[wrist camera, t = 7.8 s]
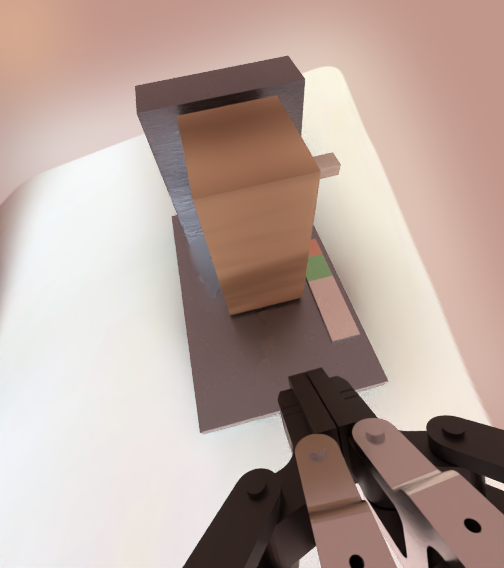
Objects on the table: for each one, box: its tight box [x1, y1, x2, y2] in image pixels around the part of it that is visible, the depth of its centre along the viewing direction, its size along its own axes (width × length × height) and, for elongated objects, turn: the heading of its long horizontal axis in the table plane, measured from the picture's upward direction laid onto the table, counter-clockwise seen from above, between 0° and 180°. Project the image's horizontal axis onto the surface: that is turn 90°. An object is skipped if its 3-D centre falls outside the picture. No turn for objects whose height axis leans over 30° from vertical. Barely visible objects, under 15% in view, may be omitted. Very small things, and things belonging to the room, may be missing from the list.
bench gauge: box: [135, 56, 388, 434], centre depth 17 cm, size 17×11×11 cm, turn 14°
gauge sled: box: [177, 95, 341, 315], centre depth 17 cm, size 6×7×10 cm
